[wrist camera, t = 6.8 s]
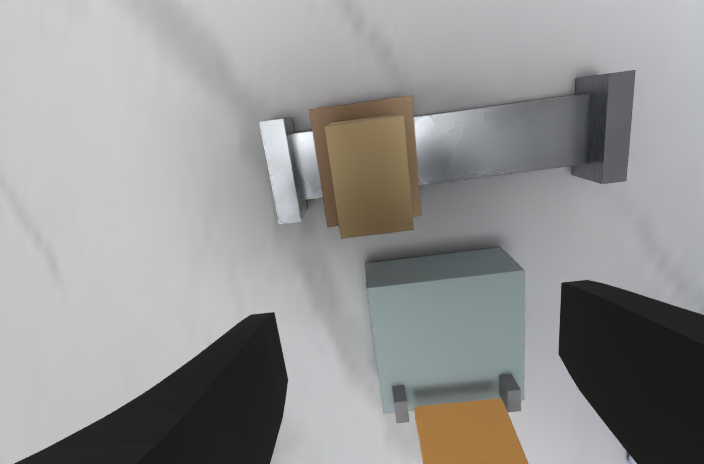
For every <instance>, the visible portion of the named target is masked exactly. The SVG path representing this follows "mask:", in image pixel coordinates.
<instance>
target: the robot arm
mask: <svg viewBox="0 0 704 464" xmlns="http://www.w3.org/2000/svg"><path fill="white" fill-rule="evenodd" d="M559 356H560V358H561V359H562V361H563V363H564V365H565V366H566V368H567V370H568V372H569V374H570V375H571V377H572V379H573V380H574V382H575V383H576V385H577V387H578V388H579V390H580V391H581V393H582V394H583V395H584V397H585V398H586V399H587V401H588V402H589V403H590V405H591V406H592V407H593V408H594V410H595V411H596V412H597V414H598V415H599V416H600V418H601V419H602V420H603V421H604V423H605V424H606V425H607V426H608V428H609V429H610V430H611V432H612V433H613V434H614V435H615V437H616V438H617V439H618V440H619V442H620V443H621V444H622V446H623V447H624V448H625V449H626V451H627V452H628V453H629V464H704V315H702V314H699V313H695V312H692V311H689V310H686V309H683V308H679V307H676V306H673V305H670V304H667V303H664V302H661V301H658V300H655V299H652V298H648V297H645V296H642V295H639V294H636V293H633V292H630V291H627V290H623V289H620V288H617V287H613V286H610V285H606V284H603V283H599V282H594V281H589V280H583V281H574V282H564V283H562V285H561V309H560V332H559ZM287 384H288V377H287V372H286V367H285V362H284V357H283V353H282V348H281V343H280V338H279V333H278V328H277V323H276V318H275V313H274V312H273V313H263V314H254V315H250V316H248V317H247V318H245V319H244V320H242V321H241V322H239V323H238V324H237V325H235V326H234V327H233V328H232V329H230V330H229V331H228V332H226V333H225V334H224V335H223V336H221V337H220V338H219V339H218V340H216V341H215V342H214V343H212V344H211V345H210V346H209V347H207V348H206V349H205V350H203V351H202V352H201V353H200V354H198V355H197V356H196V357H194V358H193V359H192V360H190V361H189V362H187V363H186V364H185V365H183V366H182V367H181V368H179V369H178V370H176V371H175V372H174V373H172V374H171V375H169V376H168V377H167V378H165V379H164V380H162V381H161V382H160V383H158V384H157V385H155V386H154V387H152V388H151V389H149V390H148V391H146V392H145V393H143V394H142V395H140V396H138V397H137V398H135V399H134V400H132V401H130V402H129V403H127V404H125V405H124V406H122V407H121V408H119V409H117V410H116V411H114V412H112V413H111V414H109V415H107V416H105V417H104V418H102V419H100V420H98V421H96V422H95V423H93V424H91V425H89V426H87V427H85V428H83V429H81V430H80V431H78V432H76V433H74V434H72V435H70V436H68V437H66V438H64V439H63V440H61V441H59V442H57V443H55V444H53V445H51V446H49V447H48V448H46V449H44V450H42V451H40V452H38V453H35V454H33V455H31V456H29V457H27V458H25V459H23V460H21V461H19V462H17V463H15V464H270V461H271V458H272V454H273V451H274V447H275V444H276V440H277V436H278V433H279V429H280V425H281V421H282V418H283V412H284V405H285V399H286V391H287Z"/></svg>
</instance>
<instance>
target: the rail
mask: <svg viewBox="0 0 704 464" xmlns="http://www.w3.org/2000/svg"><path fill="white" fill-rule="evenodd" d="M634 82H635V70H632V71H625V72H618V73H610V74H603V75H596V76H589V77H582V78H576V91H575V95H569V96H562V97H554V98H547V99H539V100H532V101H525V102H517V103H510V104H503V105H495V106H488V107H481V108H473V109H466V110H459V111H451V112H444V113H436V114H429V115H422V116H414V125H415V138H416V150H417V163H418V176H419V185H424V184H432V183H440V182H448V181H456V180H464V179H472V178H479V177H487V176H495V175H503V174H511V173H519V172H527V171H534V170H542V169H550V168H558V167H566V166H572V175H574V176H577V177H581V178H584V179H587V180H591V181H594V182H597V183H600V184H606V183H614V182H622V181H626V178H627V166H628V154H629V142H630V130H631V118H632V106H633V94H634ZM259 125H260V130H261V135H262V140H263V145H264V150H265V155H266V160H267V165H268V170H269V176H270V181H271V186H272V191H273V196H274V201H275V206H276V211H277V216H278V221H279V224H285V223H293V222H301V221H302V219H303V217H304V215H305V213H306V211H307V209H308V207H307V201H306V200H307V199H314V198H322V197H323V196H322V189H321V183H320V176H319V170H318V164H317V157H316V151H315V145H314V138H313V132H312V130H311V131H304V132H297V133H295V131H294V125H293V119H292V118H284V119H277V120H269V121H262V122H259Z"/></svg>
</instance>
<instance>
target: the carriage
mask: <svg viewBox="0 0 704 464" xmlns="http://www.w3.org/2000/svg"><path fill="white" fill-rule="evenodd" d="M309 113H310V119H311V126H312V132H313V138H314V145H315V151H316V157H317V164H318V170H319V176H320V183H321V189H322V196H323V202H324V208H325V215H326V221H327V227H333V226H339V228H340V234H341V239H342V238H350V237H359V236H367V235H375V234H383V233H391V232H400V231H408V230H414V227H413V217H414V216H422V213H421V201H420V188H419V176H418V163H417V150H416V138H415V125H414V113H413V100H412V95H410V96H403V97H396V98H389V99H382V100H374V101H367V102H360V103H353V104H346V105H338V106H331V107H324V108H317V109H309Z"/></svg>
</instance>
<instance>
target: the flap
mask: <svg viewBox="0 0 704 464" xmlns="http://www.w3.org/2000/svg"><path fill="white" fill-rule="evenodd" d="M414 410H415V420H416V425H417V431H418V437H419V443H420V448H421V454H422V460H423V464H528V461H527V459H526V457H525V454H524V452H523V449H522V447H521V444H520V442H519V439H518V437H517V435H516V432H515V430H514V427H513V425H512V422H511V420H510V417H509V415H508V413H507V410H506V408H505V405H504V403H503V400H502V398H498V399H488V400H478V401H468V402H458V403H448V404H438V405H427V406H417V407H414Z"/></svg>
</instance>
